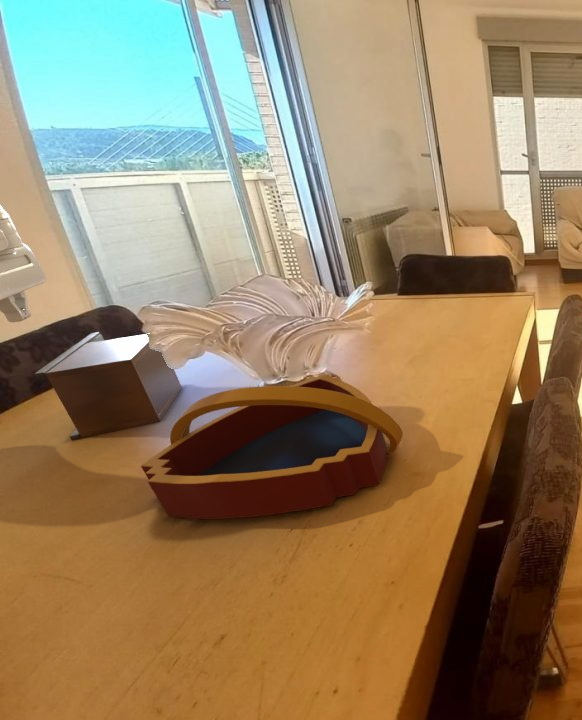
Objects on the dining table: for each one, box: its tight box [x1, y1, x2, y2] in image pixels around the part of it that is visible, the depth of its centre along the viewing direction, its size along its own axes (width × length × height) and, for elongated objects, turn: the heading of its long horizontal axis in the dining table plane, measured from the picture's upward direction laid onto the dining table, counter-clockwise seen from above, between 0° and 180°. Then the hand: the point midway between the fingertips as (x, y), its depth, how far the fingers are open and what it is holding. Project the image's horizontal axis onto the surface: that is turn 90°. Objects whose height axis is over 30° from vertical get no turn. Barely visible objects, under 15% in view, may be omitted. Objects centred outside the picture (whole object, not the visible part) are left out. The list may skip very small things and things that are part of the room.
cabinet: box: [33, 331, 183, 441], centre depth 95 cm, size 12×25×13 cm, turn 30°
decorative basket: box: [140, 374, 404, 520], centre depth 73 cm, size 34×29×15 cm
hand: (20, 319), depth 83 cm, fingers closed
